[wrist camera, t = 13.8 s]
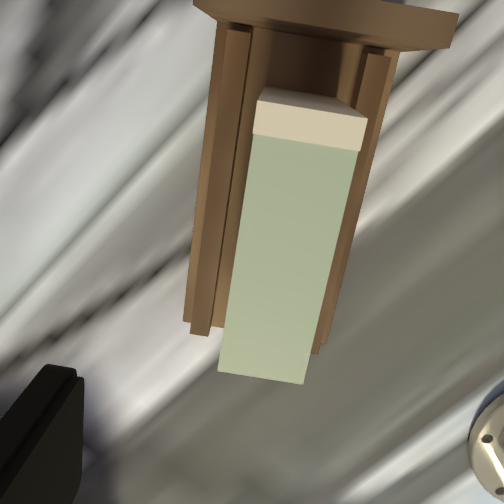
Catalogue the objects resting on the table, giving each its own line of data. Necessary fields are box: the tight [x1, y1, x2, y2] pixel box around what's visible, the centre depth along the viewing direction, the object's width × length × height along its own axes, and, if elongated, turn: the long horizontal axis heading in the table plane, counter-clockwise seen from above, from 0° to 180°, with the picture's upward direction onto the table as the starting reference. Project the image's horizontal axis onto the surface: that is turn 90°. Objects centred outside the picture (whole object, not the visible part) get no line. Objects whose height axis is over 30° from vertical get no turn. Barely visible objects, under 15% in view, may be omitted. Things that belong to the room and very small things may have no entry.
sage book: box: [218, 86, 368, 385], centre depth 24 cm, size 4×12×10 cm, turn 171°
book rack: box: [183, 0, 459, 354], centre depth 26 cm, size 10×20×10 cm, turn 171°
